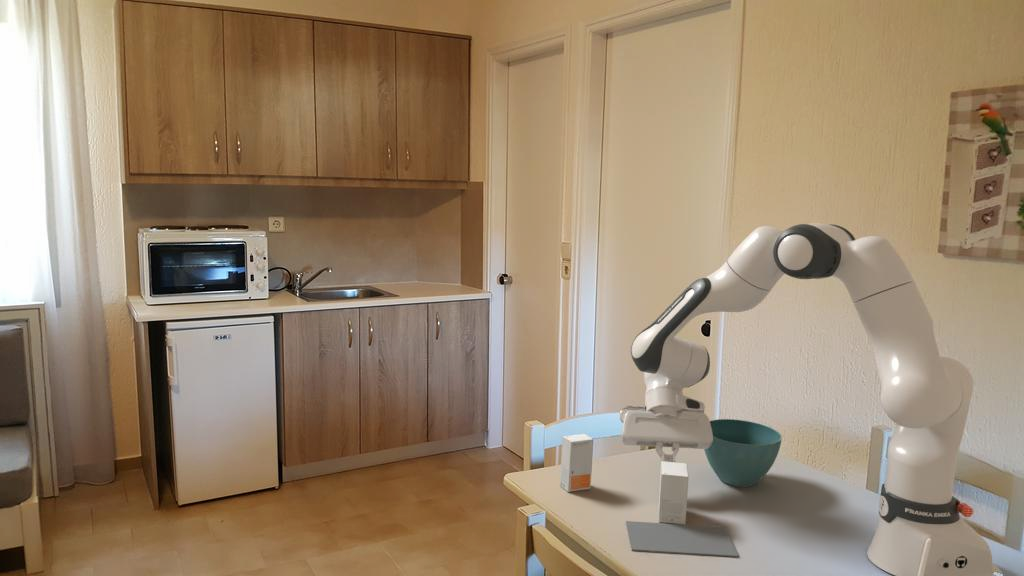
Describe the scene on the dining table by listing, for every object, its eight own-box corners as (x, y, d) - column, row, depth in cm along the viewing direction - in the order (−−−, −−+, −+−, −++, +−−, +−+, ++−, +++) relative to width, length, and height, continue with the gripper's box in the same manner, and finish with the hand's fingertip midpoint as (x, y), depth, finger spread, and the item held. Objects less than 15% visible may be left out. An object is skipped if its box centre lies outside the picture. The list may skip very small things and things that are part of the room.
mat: (724, 528, 150) (724, 526, 150) (738, 557, 138) (738, 555, 138) (625, 522, 151) (626, 521, 151) (631, 550, 140) (631, 549, 139)
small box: (685, 525, 151) (689, 477, 149) (657, 522, 152) (661, 474, 150) (684, 509, 159) (687, 462, 157) (658, 506, 160) (661, 460, 158)
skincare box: (568, 493, 165) (570, 441, 163) (559, 485, 169) (561, 435, 167) (591, 489, 168) (594, 439, 166) (582, 482, 171) (584, 433, 170)
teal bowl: (792, 483, 175) (796, 434, 173) (749, 502, 163) (754, 449, 162) (726, 460, 189) (730, 414, 187) (683, 476, 177) (686, 427, 175)
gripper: (621, 399, 169) (622, 455, 160) (711, 403, 167) (717, 460, 159) (618, 412, 174) (619, 467, 165) (705, 416, 172) (711, 471, 164)
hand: (668, 463), depth 162 cm, fingers closed
